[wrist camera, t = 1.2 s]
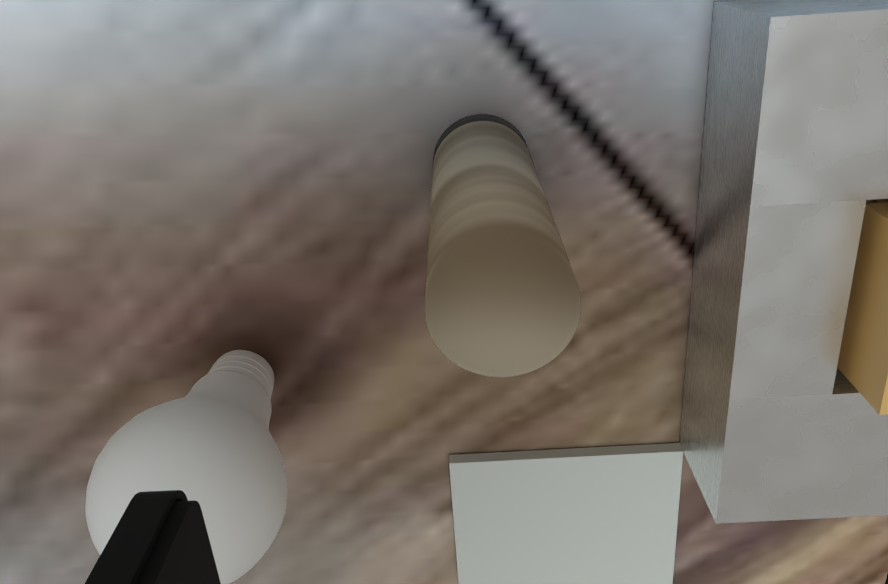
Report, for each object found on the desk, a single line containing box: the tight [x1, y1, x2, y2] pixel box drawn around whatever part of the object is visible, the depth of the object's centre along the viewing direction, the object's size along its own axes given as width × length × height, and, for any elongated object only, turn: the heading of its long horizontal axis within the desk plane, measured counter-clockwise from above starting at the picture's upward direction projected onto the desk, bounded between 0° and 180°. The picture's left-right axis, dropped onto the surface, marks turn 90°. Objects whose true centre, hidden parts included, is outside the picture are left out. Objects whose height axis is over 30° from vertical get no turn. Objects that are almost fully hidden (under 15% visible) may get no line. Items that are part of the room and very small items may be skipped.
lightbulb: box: [85, 350, 288, 584], centre depth 27 cm, size 6×6×11 cm
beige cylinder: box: [425, 115, 581, 377], centre depth 23 cm, size 4×4×12 cm
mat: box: [449, 443, 683, 584], centre depth 35 cm, size 10×10×1 cm
